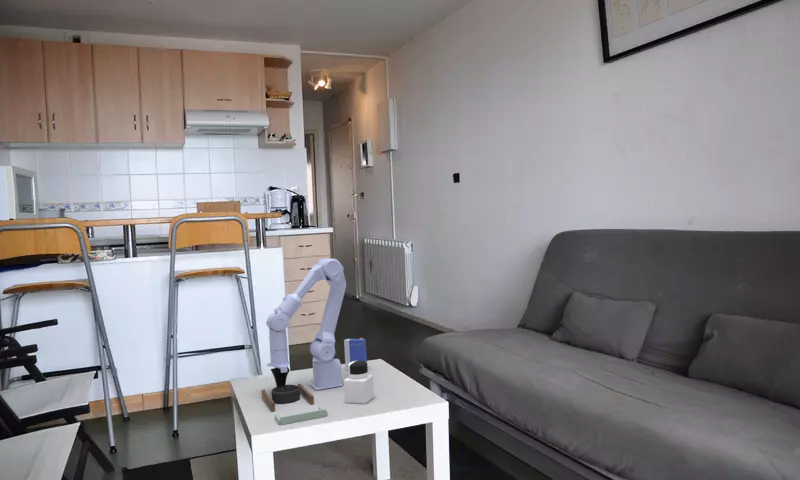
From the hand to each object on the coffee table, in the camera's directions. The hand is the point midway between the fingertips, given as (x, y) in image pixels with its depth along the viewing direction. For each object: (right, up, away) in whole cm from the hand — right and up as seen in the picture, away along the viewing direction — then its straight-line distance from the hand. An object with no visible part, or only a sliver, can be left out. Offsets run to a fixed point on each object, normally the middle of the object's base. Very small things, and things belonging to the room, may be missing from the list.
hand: (281, 389), depth 187 cm
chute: (+4, -1, -8) cm, 9 cm away
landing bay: (+11, -1, -25) cm, 28 cm away
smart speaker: (+3, -2, -7) cm, 8 cm away
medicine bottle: (+27, 0, -12) cm, 29 cm away
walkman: (+23, 0, +27) cm, 36 cm away
